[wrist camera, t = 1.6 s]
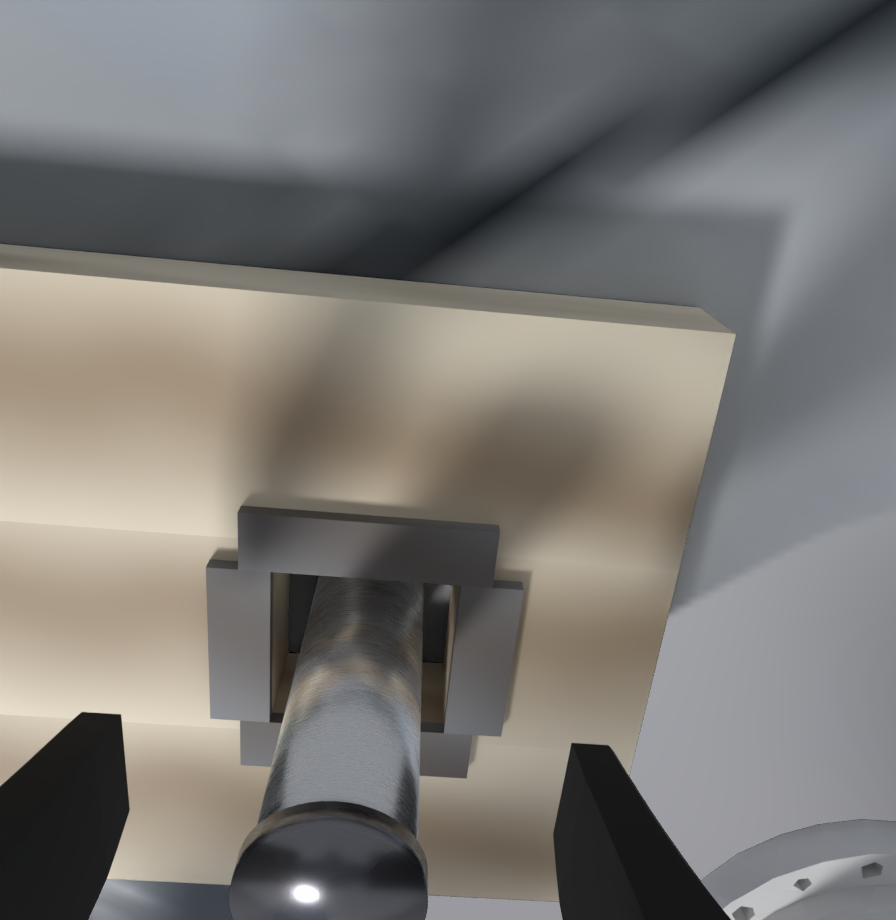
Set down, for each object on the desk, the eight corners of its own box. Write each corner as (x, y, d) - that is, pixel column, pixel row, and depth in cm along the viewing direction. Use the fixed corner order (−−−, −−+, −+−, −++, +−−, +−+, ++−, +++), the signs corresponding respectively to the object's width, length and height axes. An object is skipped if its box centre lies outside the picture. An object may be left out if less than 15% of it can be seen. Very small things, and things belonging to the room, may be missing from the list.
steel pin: (425, 645, 19) (419, 973, 11) (308, 637, 18) (229, 965, 11) (435, 544, 17) (435, 837, 10) (311, 535, 17) (226, 826, 10)
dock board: (583, 834, 21) (600, 915, 19) (-374, 781, 20) (-471, 860, 18) (700, 307, 15) (742, 338, 13) (-621, 187, 14) (-804, 200, 12)
